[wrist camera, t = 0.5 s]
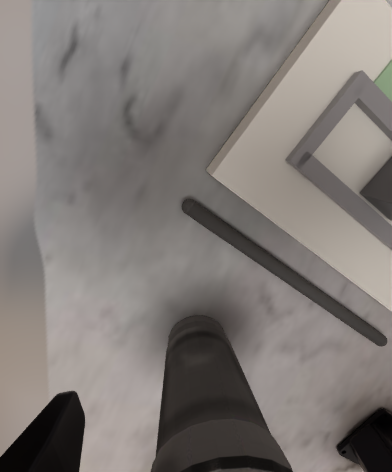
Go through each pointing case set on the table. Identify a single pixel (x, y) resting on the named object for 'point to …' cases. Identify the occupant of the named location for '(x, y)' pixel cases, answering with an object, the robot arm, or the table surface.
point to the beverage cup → (210, 408)
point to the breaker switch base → (324, 143)
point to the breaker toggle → (381, 190)
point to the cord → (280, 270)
